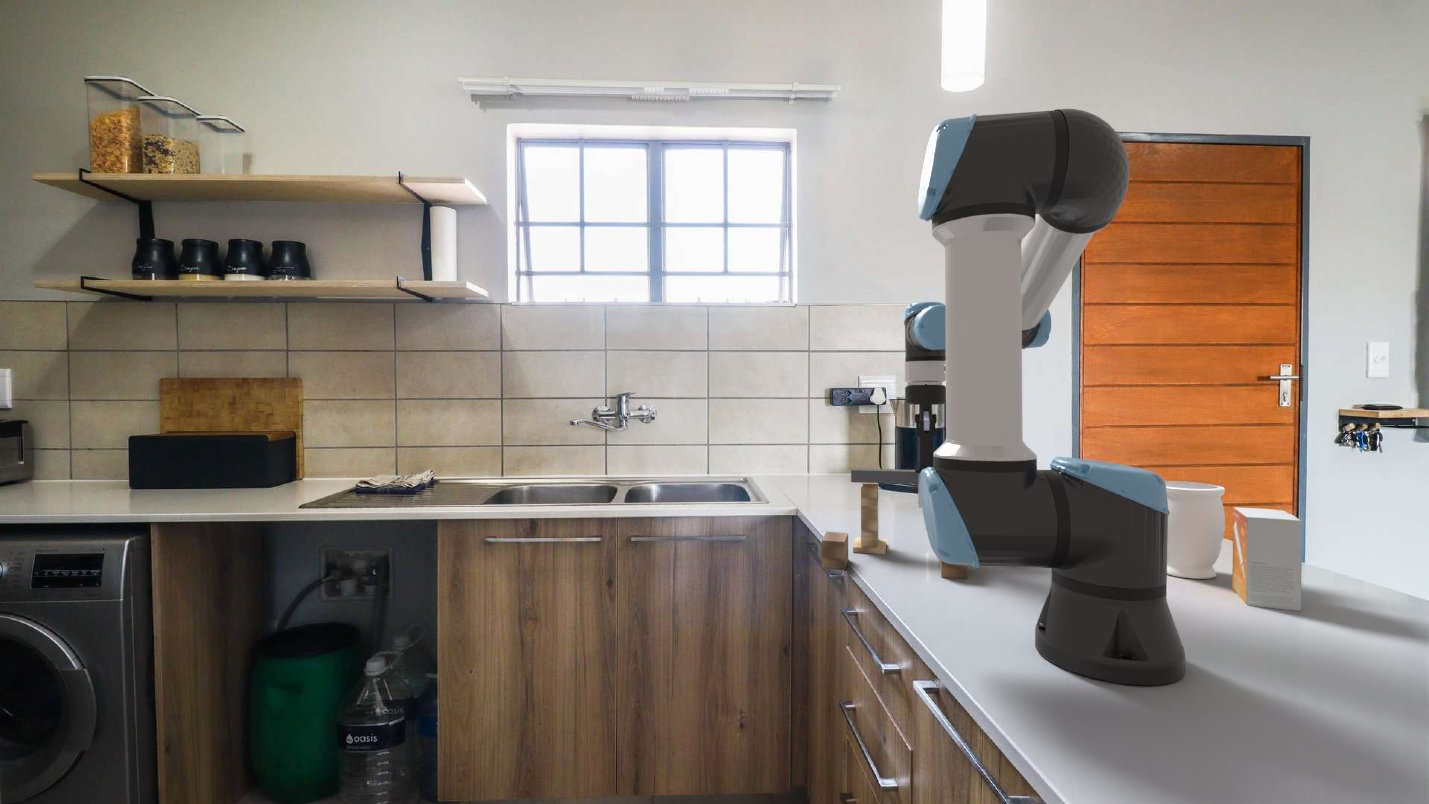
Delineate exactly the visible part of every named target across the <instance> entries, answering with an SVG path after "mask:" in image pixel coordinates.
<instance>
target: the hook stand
mask: <svg viewBox="0 0 1429 804" xmlns="http://www.w3.org/2000/svg"><path fill="white" fill-rule="evenodd" d="M860 530H861V531H860V537H855V539H854V543H853V546H852V553H859V554H876V555H885V554H886V548H887V539H886V538H879V483H862V486H860Z"/></svg>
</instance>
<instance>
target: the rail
mask: <svg viewBox="0 0 1429 804" xmlns="http://www.w3.org/2000/svg"><path fill="white" fill-rule="evenodd" d="M915 470H916V469H892V468H887V469H886V468H856V467H855V468H854V467H853V468H851V469H850V481H851V483H862V484H863V483H878V484H891V485H892V484H897V485H898V484H899V485H918V484H919V473H915Z"/></svg>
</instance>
